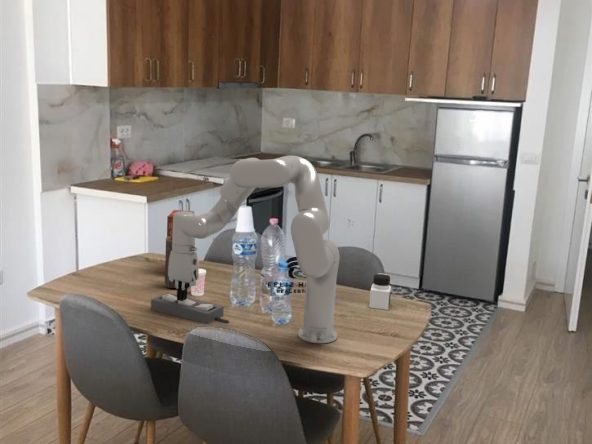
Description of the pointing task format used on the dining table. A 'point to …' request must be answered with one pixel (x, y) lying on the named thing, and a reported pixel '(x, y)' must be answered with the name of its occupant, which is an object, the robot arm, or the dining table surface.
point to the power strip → (189, 310)
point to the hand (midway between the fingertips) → (181, 299)
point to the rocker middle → (187, 302)
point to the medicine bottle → (380, 292)
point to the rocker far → (169, 298)
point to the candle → (168, 251)
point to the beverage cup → (199, 283)
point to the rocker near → (204, 306)
